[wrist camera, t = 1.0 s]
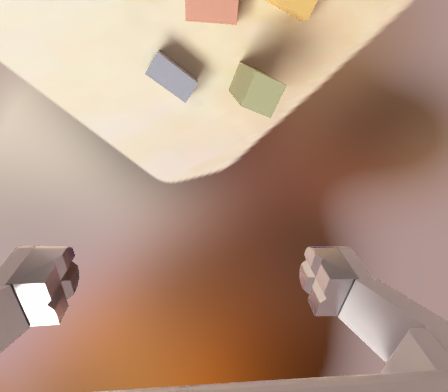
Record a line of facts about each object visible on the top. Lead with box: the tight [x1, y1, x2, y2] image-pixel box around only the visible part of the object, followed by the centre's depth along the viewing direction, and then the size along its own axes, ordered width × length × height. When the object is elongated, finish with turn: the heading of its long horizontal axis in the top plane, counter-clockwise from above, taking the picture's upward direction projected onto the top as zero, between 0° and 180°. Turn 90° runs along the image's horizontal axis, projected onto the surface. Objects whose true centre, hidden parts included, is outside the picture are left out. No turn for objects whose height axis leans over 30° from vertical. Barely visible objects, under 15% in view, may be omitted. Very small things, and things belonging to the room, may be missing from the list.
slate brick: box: [145, 51, 198, 103], centre depth 35 cm, size 6×3×3 cm, turn 52°
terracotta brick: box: [185, 0, 239, 25], centre depth 32 cm, size 6×3×3 cm, turn 86°
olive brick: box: [229, 62, 287, 118], centre depth 34 cm, size 4×4×9 cm
